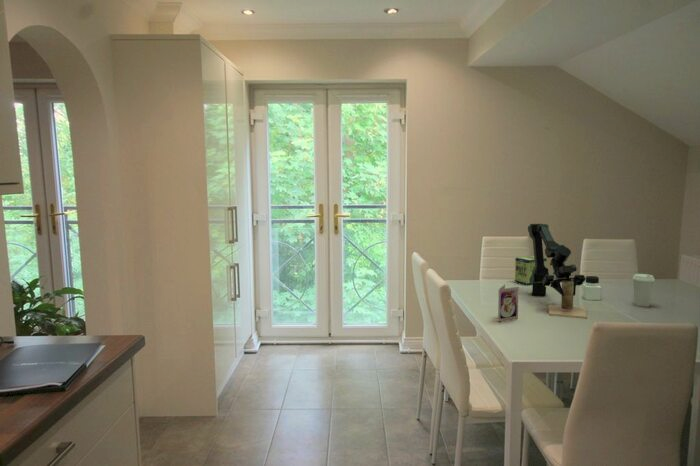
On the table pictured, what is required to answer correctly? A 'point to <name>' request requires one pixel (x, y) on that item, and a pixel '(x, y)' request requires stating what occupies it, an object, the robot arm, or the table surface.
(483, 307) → the table surface
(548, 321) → the table surface
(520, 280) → the protein box
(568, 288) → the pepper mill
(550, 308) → the beige square board
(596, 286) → the medicine bottle
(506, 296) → the greeting card
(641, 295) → the coffee cup
